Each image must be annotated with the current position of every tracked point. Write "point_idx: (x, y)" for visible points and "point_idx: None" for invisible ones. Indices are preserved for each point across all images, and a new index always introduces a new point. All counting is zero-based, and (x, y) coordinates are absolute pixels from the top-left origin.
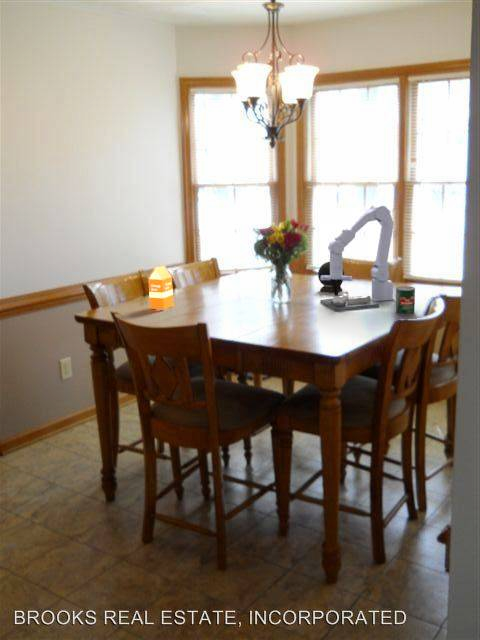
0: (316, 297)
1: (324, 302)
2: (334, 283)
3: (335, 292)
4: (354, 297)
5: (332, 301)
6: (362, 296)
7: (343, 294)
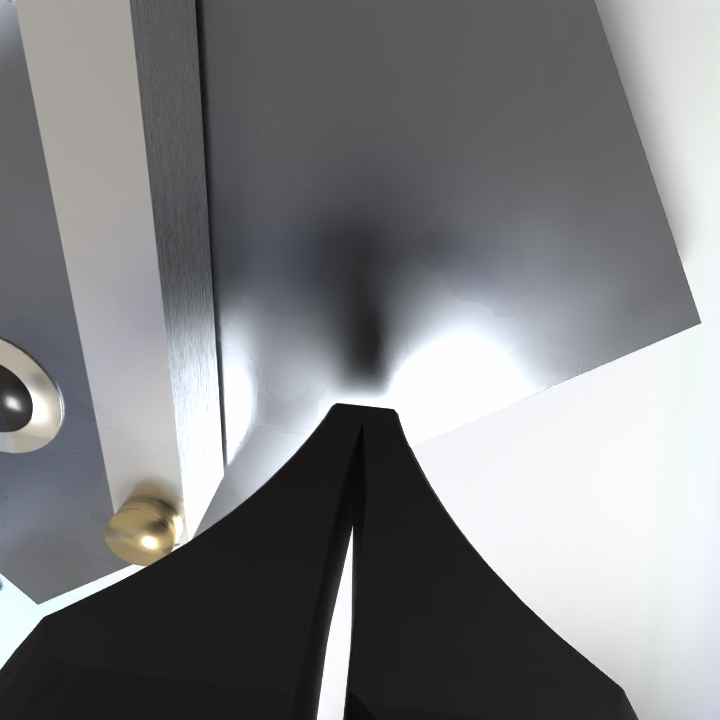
0: (697, 641)
1: (613, 76)
2: (355, 653)
3: (364, 442)
4: (104, 528)
5: (416, 169)
6: (22, 584)
7: (170, 401)
